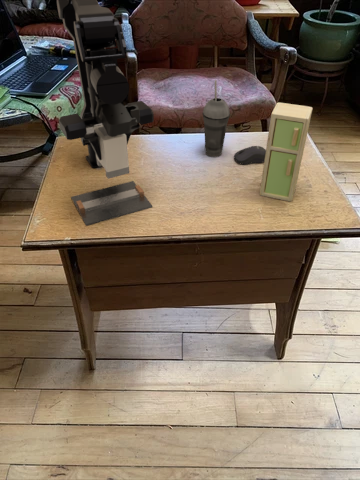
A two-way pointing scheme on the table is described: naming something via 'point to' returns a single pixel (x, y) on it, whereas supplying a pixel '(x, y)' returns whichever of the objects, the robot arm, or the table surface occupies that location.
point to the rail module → (112, 153)
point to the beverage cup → (215, 124)
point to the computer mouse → (250, 155)
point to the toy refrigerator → (284, 150)
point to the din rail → (110, 202)
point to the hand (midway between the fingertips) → (111, 156)
